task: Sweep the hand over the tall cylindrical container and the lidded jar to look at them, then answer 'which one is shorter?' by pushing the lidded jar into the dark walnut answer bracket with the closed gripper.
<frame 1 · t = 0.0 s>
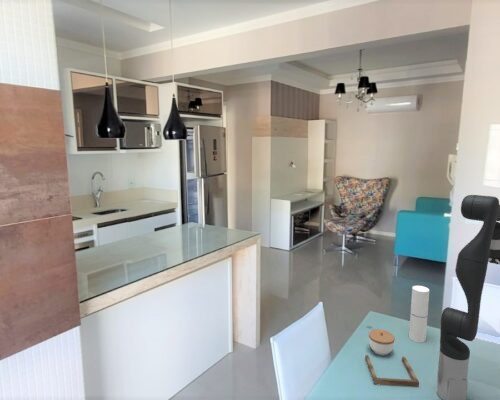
hand: (494, 272, 161), 31 cm above the table, tool tilted 20°, fingers open, 8 cm apart
answer bracket: (390, 371, 140), on the table
cylindrical container: (417, 338, 164), on the table
lidded jar: (380, 351, 154), on the table
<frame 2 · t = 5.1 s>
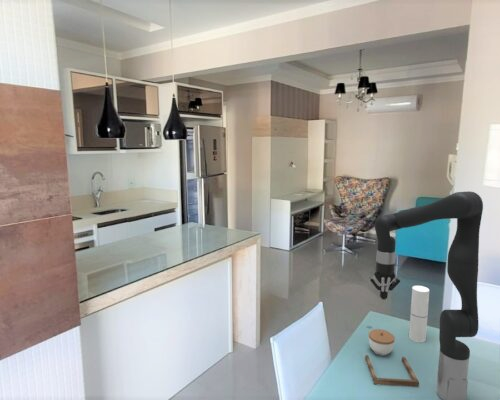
hand: (383, 298, 150), 25 cm above the table, tool pointing down, fingers closed
nothing on the table moved.
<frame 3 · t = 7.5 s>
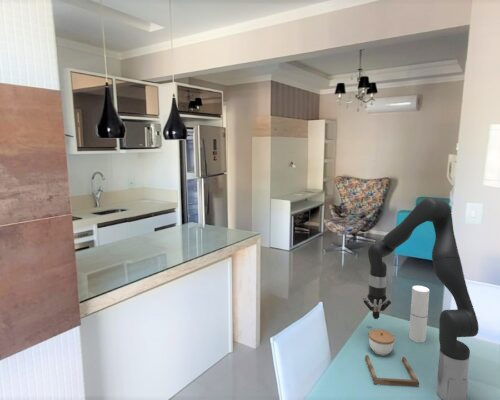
hand: (375, 318, 164), 10 cm above the table, tool pointing down, fingers closed
nothing on the table moved.
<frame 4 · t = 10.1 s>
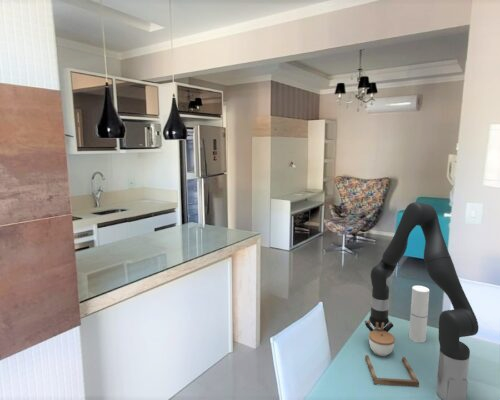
hand: (377, 341, 159), 1 cm above the table, tool pointing down, fingers closed
lidded jar: (380, 352, 154), on the table, touching gripper
everything else where it was.
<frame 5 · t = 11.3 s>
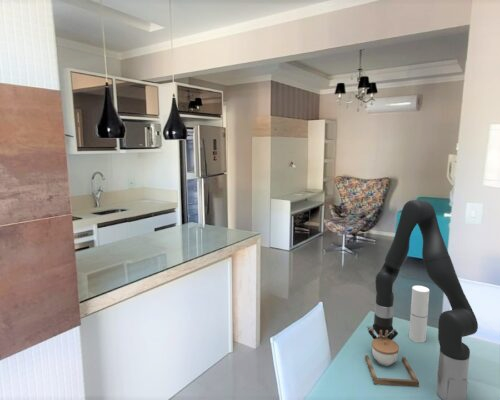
hand: (381, 349, 153), 2 cm above the table, tool pointing down, fingers closed
lidded jar: (384, 361, 147), on the table, touching gripper, hand
everything else where it was.
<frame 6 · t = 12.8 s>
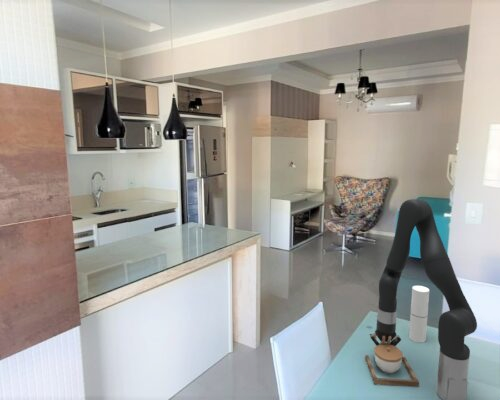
hand: (384, 356, 148), 2 cm above the table, tool pointing down, fingers closed
lidded jar: (387, 368, 142), on the table, touching gripper, hand
everything else where it was.
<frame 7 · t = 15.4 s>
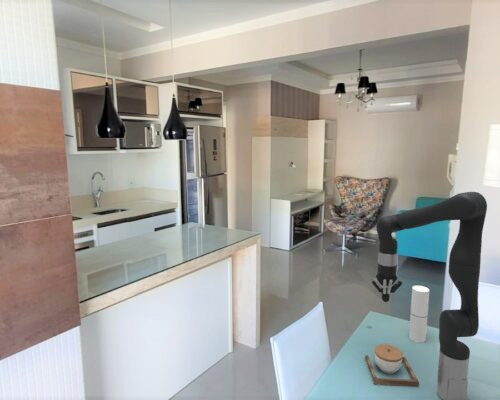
hand: (385, 301, 148), 25 cm above the table, tool pointing down, fingers closed
lidded jar: (387, 369, 142), on the table
everything else where it was.
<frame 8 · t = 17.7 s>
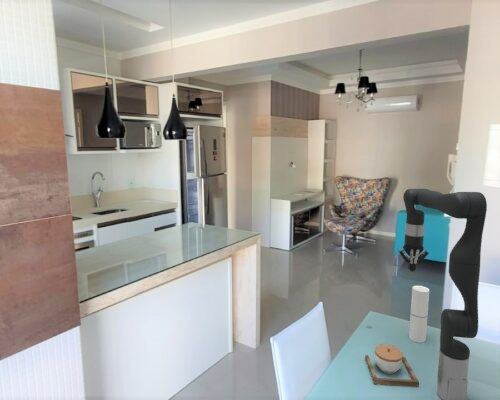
hand: (411, 270, 155), 35 cm above the table, tool pointing down, fingers closed
nothing on the table moved.
at the end: lidded jar 1.9 cm from the answer bracket (horizontally); lidded jar tilted 0°; cylindrical container moved 0.2 cm from its start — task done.
